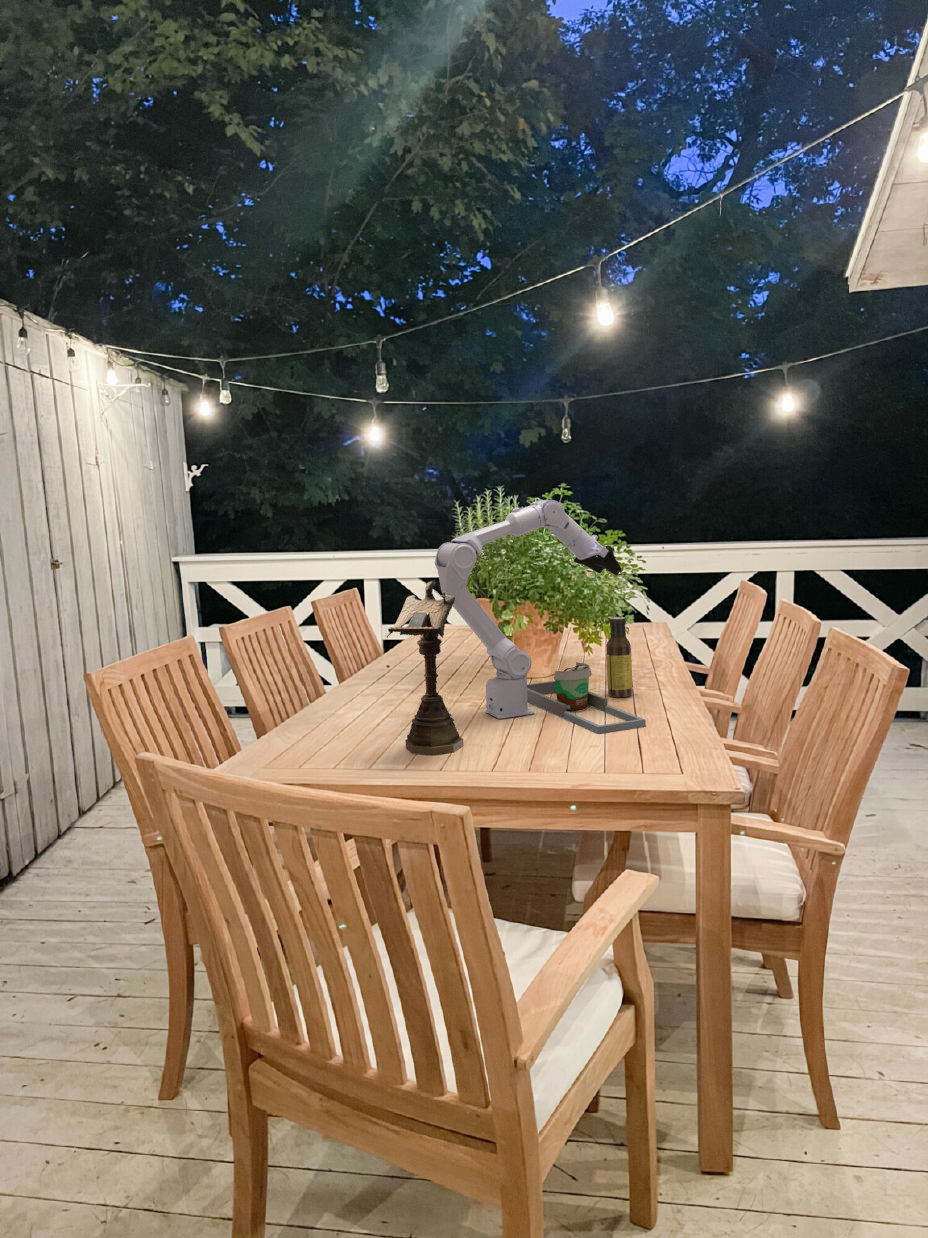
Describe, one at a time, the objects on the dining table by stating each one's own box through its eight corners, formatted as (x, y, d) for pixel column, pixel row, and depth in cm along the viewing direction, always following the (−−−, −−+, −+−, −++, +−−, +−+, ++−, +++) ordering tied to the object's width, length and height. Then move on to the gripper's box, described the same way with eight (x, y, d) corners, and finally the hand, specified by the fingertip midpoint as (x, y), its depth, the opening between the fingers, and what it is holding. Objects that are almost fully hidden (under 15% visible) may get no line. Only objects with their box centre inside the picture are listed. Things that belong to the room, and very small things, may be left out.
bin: (562, 717, 191) (562, 705, 191) (517, 697, 213) (517, 685, 213) (607, 711, 196) (607, 698, 195) (558, 691, 218) (558, 680, 217)
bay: (598, 734, 177) (597, 727, 177) (563, 718, 191) (563, 712, 191) (645, 726, 181) (645, 719, 181) (608, 711, 195) (608, 705, 195)
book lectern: (446, 765, 160) (437, 584, 155) (386, 759, 165) (376, 584, 160) (478, 741, 175) (471, 576, 170) (422, 737, 180) (414, 576, 175)
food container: (578, 715, 193) (577, 673, 191) (554, 712, 196) (553, 671, 195) (600, 703, 203) (600, 663, 201) (578, 701, 206) (577, 661, 205)
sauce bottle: (637, 695, 210) (636, 617, 207) (619, 699, 206) (618, 620, 204) (619, 691, 215) (618, 615, 212) (601, 695, 212) (600, 617, 209)
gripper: (598, 523, 192) (636, 559, 197) (567, 523, 206) (603, 556, 211) (581, 547, 191) (619, 583, 196) (551, 545, 205) (588, 578, 210)
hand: (610, 571), depth 203 cm, fingers open, 7 cm apart
